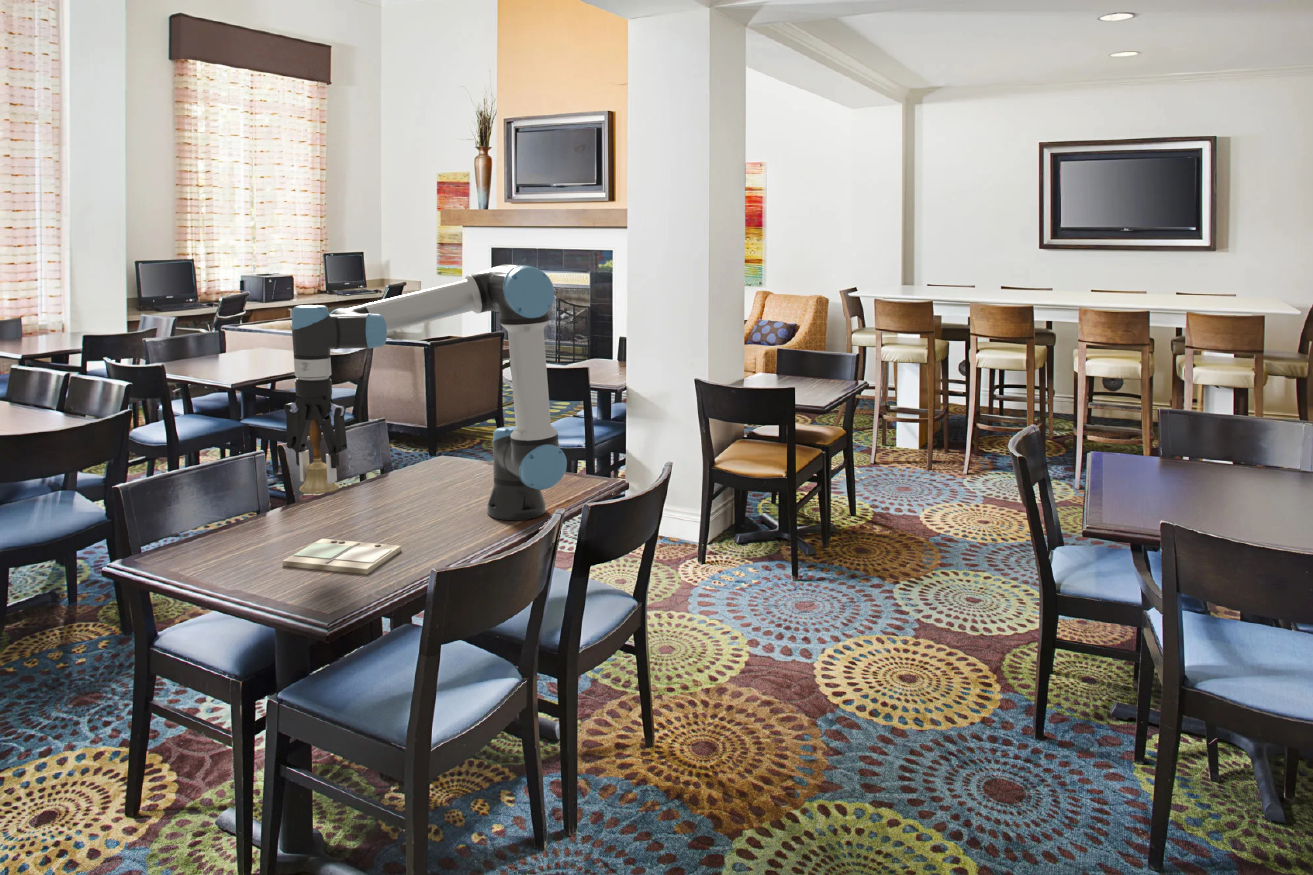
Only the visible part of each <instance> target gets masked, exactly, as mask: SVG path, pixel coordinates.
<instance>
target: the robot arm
mask: <svg viewBox="0 0 1313 875" xmlns="http://www.w3.org/2000/svg"><path fill="white" fill-rule="evenodd" d="M554 301H555V288H554V284H553V281H552V280H551V279H550V276H548V275H547V274H546V273H545V272H544V271H543V270H542V269H539V268H536V267H534V266H532V265H527V264H513V263H507V264H501V265H497V266H493V267H491V268H487V269H485V270H481V271H479V272H478V271H477V272H475V273H470V274H467V275H466V276H465V278H464V279H463V280H460V281H456V282H453V283H452V282H451V283H448V284H443V285H440V286H436V287H432V288H427V289H422V290H419V291H414V292H411V293H410V292H409V293H407V294H402V295H397V296H393V297H390V298H385V299H380V300H377V301H374V302H373V301H372V302H368V303H364V304H361V305H357V306H352V307H340V308H336V309H333V310H332V311H331V312H329V308H328V306H326V305H319V304H316V305H313V304H304V305H296V306H294V307H293V308H292V310H291V326H290V327H291V337H292V347H293V348H292V350H293V352H292V353H293V368H294V376H295V377H296V379H295V380H294V388H295V395H296V400H295V401H294V402H290V403H286V404H284V405H283V409H284V412H285V415H286V424H285V425H286V448H287V449H291V450H293V451H294V452H295V463H296V466H299V480H300V482H301V483H302V482H303V483H304V482H305V480H306V476H307V467H308V466H309V465H310V452H309V451H310V450H309V449H307V448H308V447H307V442H308V438H309V427H310V423H311V420H312V419H313V420H316V421H318V424H319V425H320V427H321V433H322V435H323V438H324V441H325V444H326V448H327V450H328V452H327V453H325V460H326V461H325V464H326V466H327V483H328V484H331V483H333V482H335V483H336V482H337V481H338V477H337V476H338V475H337V473H338V472H337V468H339V467H340V453H341V452H344V451H346V450H347V449H348V443H347V441H348V440H347V434H346V423H345V414H346V411H347V407H346V406H345V405H338V404H335V402H334V401H333V399H332V396H333V382H332V380H333V379H331V377H330V376H332V364H331V363H332V362H331V350H340V349H342V350H344V349H349V350H351V349H368V350H371V349H374V348H382V347H384V346H385V345H386V342H387V337H388V333H389V332H393V331H397V330H401V329H406V328H409V327H412V326H417V325H421V324H425V323H429V322H433V321H437V320H441V319H445V318H449V317H453V316H458V315H461V314H466V313H469V312H474V313H475V314H481V313H486V312H499V313H498V314H499V321H500V325H501V327H503V329H505V330H506V331H507V340H508V352H509V363H510V364H509V365H510V372H511V375H510V376H511V385H512V386H511V387H512V397H513V408H514V410H513V411H514V420H515V425H514V426H513V425H511V426H502V427H498V428H495V430H493V437H492V441H491V442H492V459H493V462H492V463H493V466H492V467H493V486H492V489H491V491H490V492H491V493H490V496H489V498H488V502H487V506H486V507H487V508H486V509H487V515H488V516H489V517H491V518H494V519H497V520H502V521H503V520H504V521H523V520H532V519H531V518H533V519H537V518H539V516H540V517H542V516H543V514H544V513H545V514H546V501H545V499H544V495H543V493H542V491H543V490H548V489H551V488H553V487H554V486H556V485H557V484H558V483H560V481H561V480H562V479H563V478H564V475H565V473H566V471H567V464H568V461H567V460H568V459H567V456H566V454H565V453H564V451H563V450H562V449H561V448H560V444H559V442H560V441H559V433H558V430H557V429H556V428H555V427H553V426H552V424H551V412H550V411H551V410H550V397H549V396H550V395H549V384H548V370H547V357H546V344H545V332H544V330H545V328H546V326H547V325H548V324H549V322H550V311H549V310H550V309H551V307H552V306H553V304H554ZM298 411H299V413H300V418H299V417H298ZM331 411H332V415H333V423H332V417H331V414H330V413H331ZM298 418H299V421H298ZM298 422H299V423H298ZM298 424H299V426H298ZM332 424H333V425H332ZM545 514H544V515H545ZM541 515H542V516H541Z"/></svg>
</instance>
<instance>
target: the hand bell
mask: <svg viewBox="0 0 1313 875" xmlns="http://www.w3.org/2000/svg"><path fill="white" fill-rule="evenodd" d="M322 435H323V432H322V429H321V426H320V425H319V424H318V421H316V420H313V419H312V420H311V423H310V427H309V434H308V438H309V439H310V443H311V446H312V458H313V460H312V461H313V462H312V463H309V466H308V467H307V476H306V480H305V481H304V482H303V484H302V485H301V486H300V487H299V492H300V493H303V494H307V495H308V494H309V495H319V494H320V495H321V494H327V493H332V492H335V491H337V490H338V489H339V488H340V486H339V484H338V483H336V481H335V482H333V483H331V484H328V483H327V466H326V462H323V461H322V455H321V454H322V453H321V441H322Z"/></svg>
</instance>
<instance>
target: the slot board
mask: <svg viewBox="0 0 1313 875" xmlns="http://www.w3.org/2000/svg"><path fill="white" fill-rule="evenodd" d="M401 551H402V545H396V544H386V543H376V542H375V543H374V542H373V543H372V542H361V541H350V540H341V539H331V538H329V539H328V538H319V540H317V541H315V542H313V543H312V544H310V545H308V546H307V547H306V546H305V548H303V549H301V550H299V551H297V552H296V553H293V554H292V555H290V556H289V557H287V558H285V559H283V560H282V562H281V563H282V567H288V566H289V568H298V569H299V568H300V569H309V570H319V571H329V572H330V571H332V572H341V573H342V572H343V573H351V574H363V575H368V574H369V573H371V572H373V571H374V570H375V569H376V568H378V567H380V566H381V565H383V564H384V563H386V562H387V561H389V560H390V559H391V558H392V557H394V556H396V555H398V554H399V553H400V552H401Z"/></svg>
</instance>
